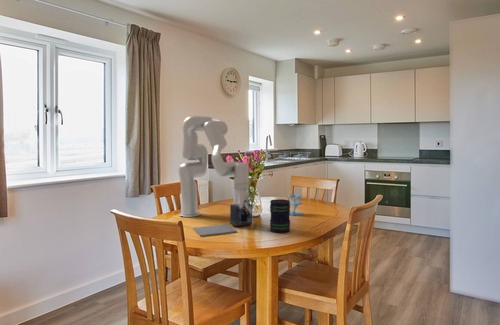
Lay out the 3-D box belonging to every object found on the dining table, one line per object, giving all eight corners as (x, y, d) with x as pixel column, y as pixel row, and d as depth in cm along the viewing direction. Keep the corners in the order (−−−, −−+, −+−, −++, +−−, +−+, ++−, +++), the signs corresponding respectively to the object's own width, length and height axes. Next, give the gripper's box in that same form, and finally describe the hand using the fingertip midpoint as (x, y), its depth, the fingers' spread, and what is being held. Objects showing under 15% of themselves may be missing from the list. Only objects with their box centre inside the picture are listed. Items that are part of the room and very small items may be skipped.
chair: (284, 214, 215) (284, 194, 215) (293, 212, 221) (293, 193, 220) (294, 216, 210) (294, 196, 209) (303, 214, 215) (303, 194, 214)
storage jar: (272, 234, 173) (272, 203, 172) (267, 229, 183) (267, 199, 182) (292, 232, 175) (292, 202, 174) (286, 227, 185) (286, 198, 184)
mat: (193, 229, 183) (193, 227, 183) (226, 225, 190) (226, 224, 190) (201, 236, 170) (201, 235, 170) (236, 232, 177) (236, 230, 177)
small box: (236, 226, 185) (236, 206, 184) (229, 224, 190) (229, 204, 189) (253, 223, 191) (253, 204, 190) (245, 221, 196) (245, 202, 195)
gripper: (228, 184, 195) (228, 216, 197) (240, 189, 179) (240, 224, 181) (241, 183, 198) (241, 215, 200) (254, 188, 182) (254, 222, 184)
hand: (241, 219), depth 190 cm, fingers closed on small box, 7 cm apart
